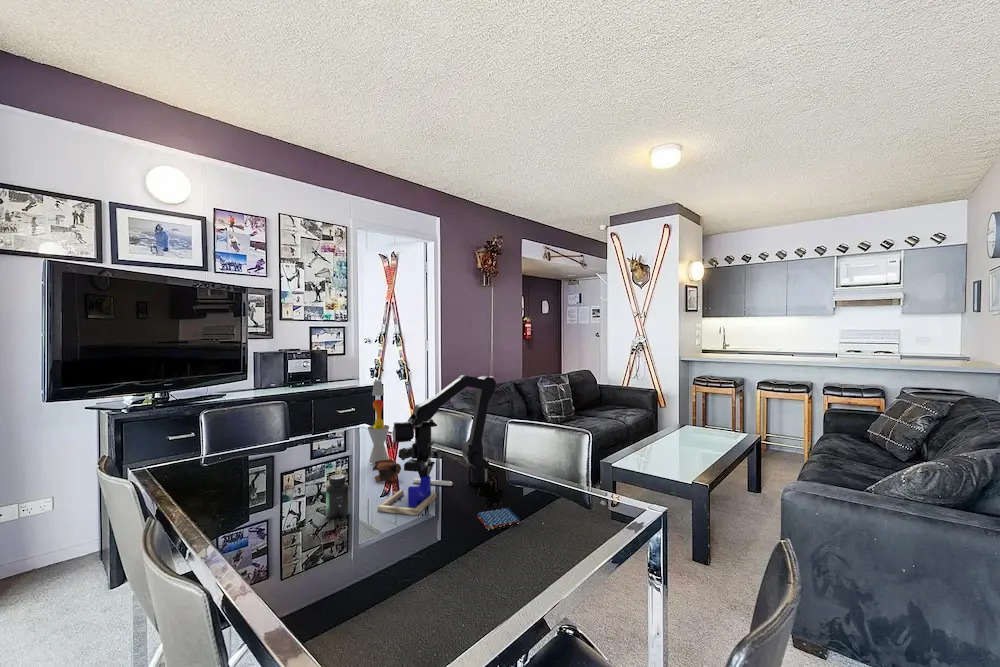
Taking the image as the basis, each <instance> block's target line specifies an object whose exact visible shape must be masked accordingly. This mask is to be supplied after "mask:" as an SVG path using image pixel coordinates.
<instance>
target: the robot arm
mask: <svg viewBox="0 0 1000 667" xmlns="http://www.w3.org/2000/svg"><path fill="white" fill-rule="evenodd" d="M467 387H468V388H474V389H475V396H476V401H475V402H476V403H475V408H474V414H473V419H472V423H471V428H470V435H469V438H468V439H467V441H465V440H463V441H462V449H461V453H462V457H463V459H464V460H465V461H466V462H467V463H468V465H469V466H468V469H467V472H466V474H467V477H466V478H467V479H466V480H467V481H466V482H467V483H466V485H467V486H473V485H483V484H485V483H486V481H487V479H488V469H489V467H490V466H489V465H490V462H488V461H487V459H485V457H484V445H483V436H484V431H485V425H486V420H487V415H488V409H489V404H490V400H491V399H492V398H493V396H494V393H495V391H496V389H497V382H496V380H495V379H494V378H493V377H490V376H486V375H480V376H479V377H478V376H471V375H470V376H469V375H465V374H461V375H459V376H458V378H456V379H455V380H454V381H452V382H451V383H449V384H448V385H447V386H446V387H444V388H443V389H441V391H438V393H436V394H435V395H433V396H431V397H430V398H426V399H424V400H423V401H421V402H419V403H417V404H416V405H414V407H413V410H412V411H413V412H412V414H411V415H410V416H409V418H408V419H407V421H405V422H404V421H403V422H398V421H397V422H393V427H392V442H393V443H394V444H397V443H405V442H406V443H407V442H408V443H409V442H411V441H412V440H413V439H414V442H413V443H412V445H411V446H409V447H407V448H405V447H403V448H400V449H398V456H397V457H398V458H399V459H401V460H402V461H405V460H406V459H409V458H411V459H409V460H407V461H406V462H405V463H404V464H403V471H405V472H416V473H417V474H418V475H419V476H418V477H419V479H421V477H422V476H430V475H431V472H432V470H433V467H434V465H435V464H436V461H432V459H433V458H434V457H436V458H437V459H441V458H442V455H443V454H442V451H441V450H440V449H439V448H432V446H433V445H434V441H433V440H432V428H434V427H435V428H436V427H438V424H437V423H436V422H435V421H434V419H433V417H434V416H435V415H436V414H437V413H438V411H439V410H440V408H441V407H442V406H443V405H445V404H446V403H447V402H448V401H450V400H451V399H452V398H454V397H455V396H456V395H458V394H459V393H460V392H462V391H463V390H464V389H465V388H467Z"/></svg>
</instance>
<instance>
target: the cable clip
mask: <svg viewBox="0 0 1000 667" xmlns="http://www.w3.org/2000/svg"><path fill="white" fill-rule="evenodd" d="M431 480H432V479H431V476H430V475H429V476H422V477H421V482H420V483H417V485H416V486H413V485H412V486H411V485H410V486H408V488H407V492H408V493H407V494H408V496H407V497H408V499H407V500H408V501H407V504H408V507H410V508H416V507H417V506H418V505H419V504H421V503H422V502H423V501H424V500H425V499H426V498H428V497H429V496H430V495H431V494H432V491H431V490H432V488H431V487H432V484H431Z"/></svg>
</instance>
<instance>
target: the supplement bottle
mask: <svg viewBox="0 0 1000 667" xmlns="http://www.w3.org/2000/svg"><path fill="white" fill-rule="evenodd" d="M346 482H347V478H346V475H345V474H343V473H342V474H341V473H339V474H333V475H331V476H329V477H328V484H329V485H328V486H326V488H325V515H326V518H328V519H329V518H330V520H338V519H337V518H341V517H344V516H346V515H348V514H349V515H350V508H351V507H350V505H351V504H350V502H351V501H350V485H349V484H348V483H346ZM349 515H348V516H349ZM346 517H347V516H346ZM344 518H345V517H344ZM341 519H342V518H341Z"/></svg>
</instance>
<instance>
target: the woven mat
mask: <svg viewBox="0 0 1000 667" xmlns="http://www.w3.org/2000/svg"><path fill="white" fill-rule="evenodd" d="M476 517H477V520H479V522H480V523H482V524H484V525H482V526H483V527H485V529H486V530H487V529H488V530H487V531H490V529H491V530H494V529H495V528H498V526H499V527H501V528H502V526H504V527H506V526H505V525H507V526H508V525H511V524H514V523H517V524H519V525H520V523H521V521H520V518H519V517H518V516H517V515H516V514H515V513H513V511H512V510H511V509H510V508H509V507H507V508H501V509H496V510H495V509H493V510H489V511H482V512H481V511H479V512H478V513H477V515H476ZM514 525H515V524H514Z"/></svg>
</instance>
